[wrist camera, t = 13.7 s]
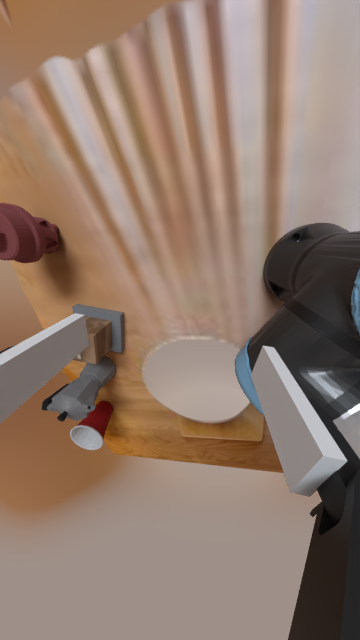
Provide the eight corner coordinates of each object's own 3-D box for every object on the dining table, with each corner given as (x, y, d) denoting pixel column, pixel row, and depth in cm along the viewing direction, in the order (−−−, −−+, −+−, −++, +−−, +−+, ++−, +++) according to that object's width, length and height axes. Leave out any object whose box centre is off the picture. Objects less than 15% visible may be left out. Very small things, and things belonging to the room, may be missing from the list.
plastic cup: (120, 400, 60) (102, 434, 49) (118, 418, 65) (101, 453, 54) (91, 392, 60) (67, 424, 49) (92, 410, 65) (69, 444, 54)
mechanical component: (60, 208, 36) (76, 257, 40) (21, 213, 37) (40, 260, 41) (-4, 193, 25) (27, 264, 29) (-57, 201, 26) (-20, 267, 30)
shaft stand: (123, 312, 44) (107, 327, 37) (124, 349, 50) (109, 368, 42) (77, 304, 45) (51, 316, 38) (82, 340, 50) (61, 358, 43)
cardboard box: (85, 340, 48) (64, 358, 40) (82, 315, 44) (57, 330, 37) (112, 345, 47) (95, 365, 40) (111, 320, 44) (92, 337, 36)
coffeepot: (117, 354, 51) (77, 406, 35) (125, 377, 55) (92, 434, 39) (73, 355, 54) (17, 404, 37) (84, 377, 57) (37, 431, 41)
